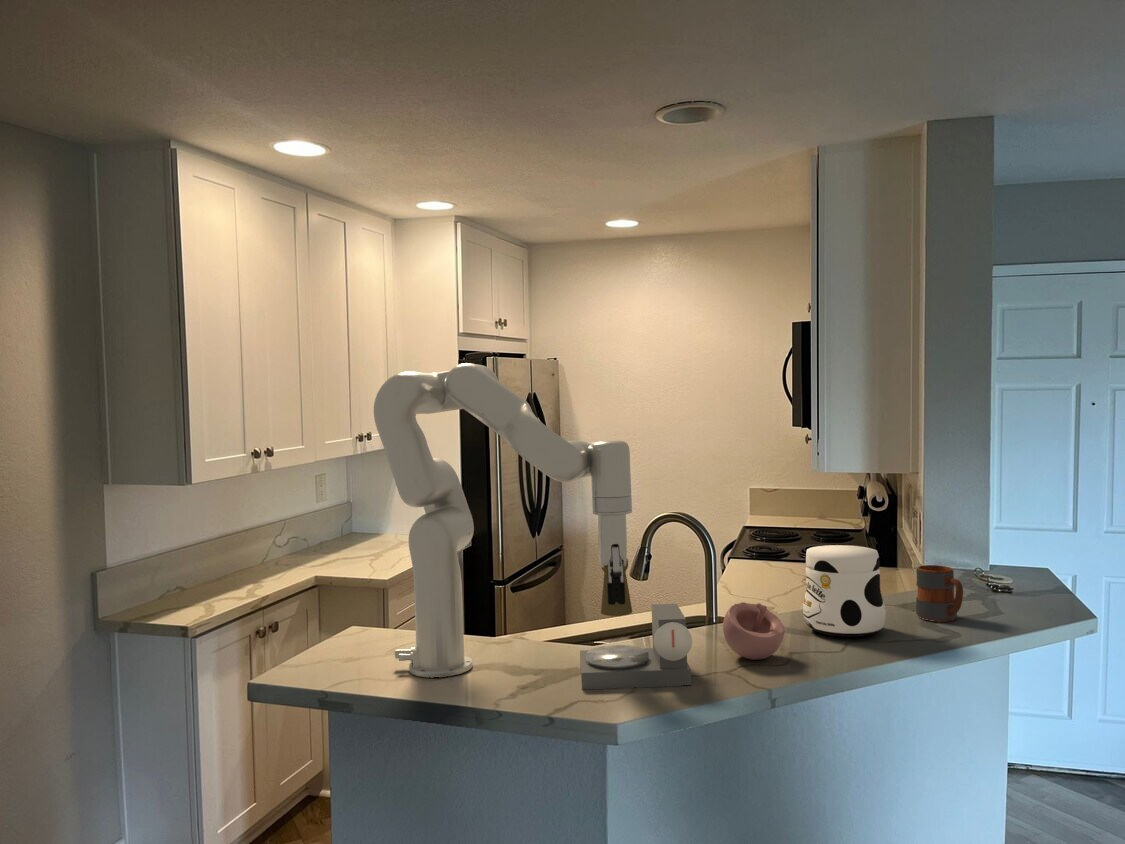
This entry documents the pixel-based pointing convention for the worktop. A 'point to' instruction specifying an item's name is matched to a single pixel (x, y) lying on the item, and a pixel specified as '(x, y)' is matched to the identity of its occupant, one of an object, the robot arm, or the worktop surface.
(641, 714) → the worktop surface
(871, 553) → the milk container
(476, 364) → the robot arm
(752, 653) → the mortar and pestle
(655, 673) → the scale
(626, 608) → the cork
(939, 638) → the worktop surface
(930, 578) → the mug
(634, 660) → the scale pan
